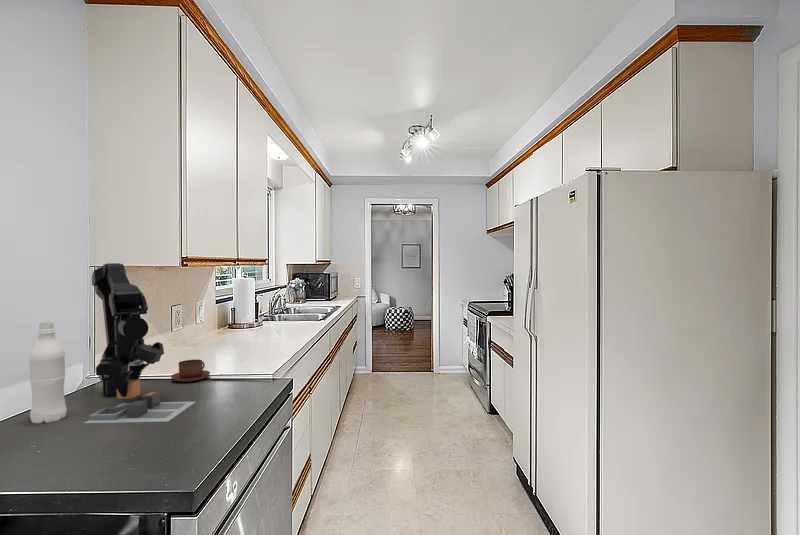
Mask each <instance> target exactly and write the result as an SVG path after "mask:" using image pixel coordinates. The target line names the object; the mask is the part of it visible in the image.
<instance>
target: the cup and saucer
mask: <svg viewBox="0 0 800 535" xmlns="http://www.w3.org/2000/svg"><path fill="white" fill-rule="evenodd" d="M205 366H206V365H205V362H204V361H203V360H202V359H186V360H181V361H179V362H178V372H177V373H174V374H172V375H170V378H171V379H172V380H173V381H176V382H179V383H185V382H186V383H187V382H190V383H191V382H196V381H200V380H201V381H202V380H203V379H206V378H208V377H209V376H210V374H211V371H209V370H205Z"/></svg>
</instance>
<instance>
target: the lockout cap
mask: <svg viewBox="0 0 800 535" xmlns="http://www.w3.org/2000/svg"><path fill="white" fill-rule="evenodd" d="M139 395H141V379H140V378H139V379H131V380H128V390H127V396H126V397H122V396H121V394H120V393H119V391H118V390H117V396H116V399H118V400H119V399H133V398H136V397H137V396H139Z"/></svg>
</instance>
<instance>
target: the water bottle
mask: <svg viewBox="0 0 800 535" xmlns="http://www.w3.org/2000/svg"><path fill="white" fill-rule="evenodd" d="M37 331H38V332H37V334H38V338H37V340H36V343H35V344H34V346H33V347H32V349H31V351H30V353H29V356H28V361H29V383H30V386H31V394H32V396H31V407H30V410H29V411H30V412H29V414H30V415H29V417H30V421H31V423H33V424H42V423H51V422H57V421H60V420H61V419H63V418H65V417H66V415H67V410H68V409H67V405H66V401H65V380H66V379H65V378H66V362H65V361H66V360H65V357H66V353H65V350H64V348H63V346H62V345H61V344H60V342H59V341H58V339H57V337H56V332H57V331H56V330H55V322H54V321H52V322H51V321H49V322H48V321H47V322H39V323H38V330H37Z"/></svg>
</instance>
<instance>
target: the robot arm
mask: <svg viewBox="0 0 800 535" xmlns="http://www.w3.org/2000/svg"><path fill="white" fill-rule="evenodd" d="M92 272H93V273H92V274H91V285H92V287H94V292H95V294H96V295H97V296H98V297H99V299H101V301H102V311H103V318H104V328H105V330H104V331H105V337H106V347H105V349H104V351H103V353H102V355H101V359H99V360H100V361H99V363H98V364H97V366H96V367H95V375H96V376H98V379H99V380H100V381H101V382H102V395H103V396H106V397H117V390H118V391H119V393H120V394H121V396H122V397H126V396H127V390H128V380H131V379H140V378H141V375H142V372H143V371H144V370H145V369H146V368H147V367H149V365H153V364H155V363H158V362H160V361H161V357H162V356H163V355H165V352H164V350H165V349H164V345H163V343H162V342H159V341H157V342H154V343H153V344H146V343H145V339H144V337H145V336H147V334H148V332H149V324H148V322H147V321H146V319H144V318H142V316H141V315H147V313H148V309H149V307H148V302H147V299H146V296H145V295H144V293H143V291H141V289H140V288H139V287H138V286H137V285H135V284H131V283H130V281H129V278H128V276H127V271H126V268H125V265H124V264H123V263H120V262H118V263H117V262H116V263H114V262H113V263H109V262H108V263H105V264H103V265H102V266H101V267H98V268H97V269H95V270H93V271H92Z"/></svg>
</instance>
